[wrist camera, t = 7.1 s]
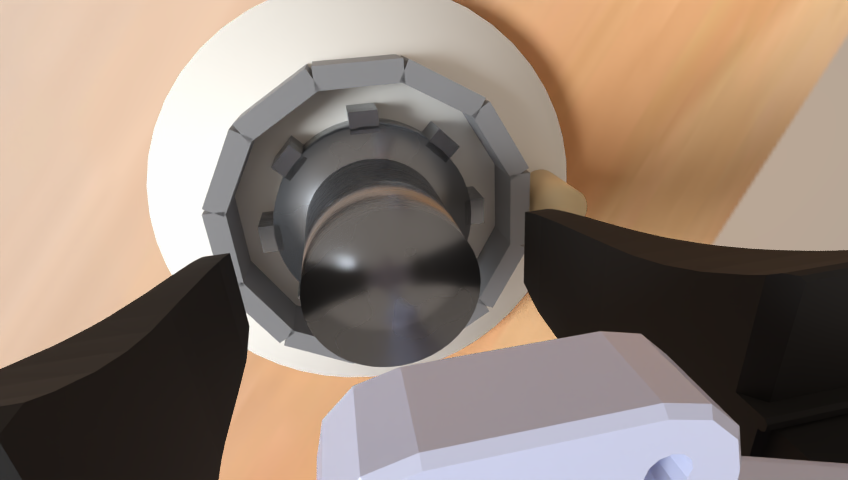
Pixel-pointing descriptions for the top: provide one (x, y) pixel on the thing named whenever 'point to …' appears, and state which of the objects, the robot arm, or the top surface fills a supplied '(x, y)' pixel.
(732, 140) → the top surface
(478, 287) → the planet gear
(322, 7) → the plate
